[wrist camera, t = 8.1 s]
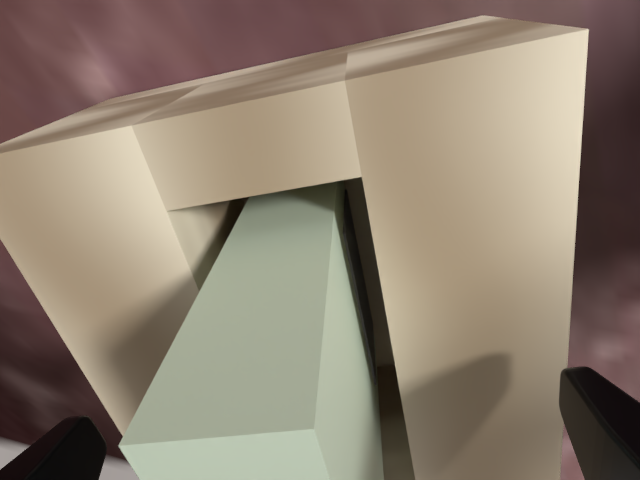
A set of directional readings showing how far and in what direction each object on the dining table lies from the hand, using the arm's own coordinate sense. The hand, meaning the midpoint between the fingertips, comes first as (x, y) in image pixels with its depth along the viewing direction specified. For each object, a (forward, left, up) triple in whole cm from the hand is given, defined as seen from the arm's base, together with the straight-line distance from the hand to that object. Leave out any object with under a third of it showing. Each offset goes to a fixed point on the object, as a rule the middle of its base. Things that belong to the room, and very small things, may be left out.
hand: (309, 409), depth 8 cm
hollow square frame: (0, 0, -6) cm, 6 cm away
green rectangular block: (0, 0, -5) cm, 5 cm away
